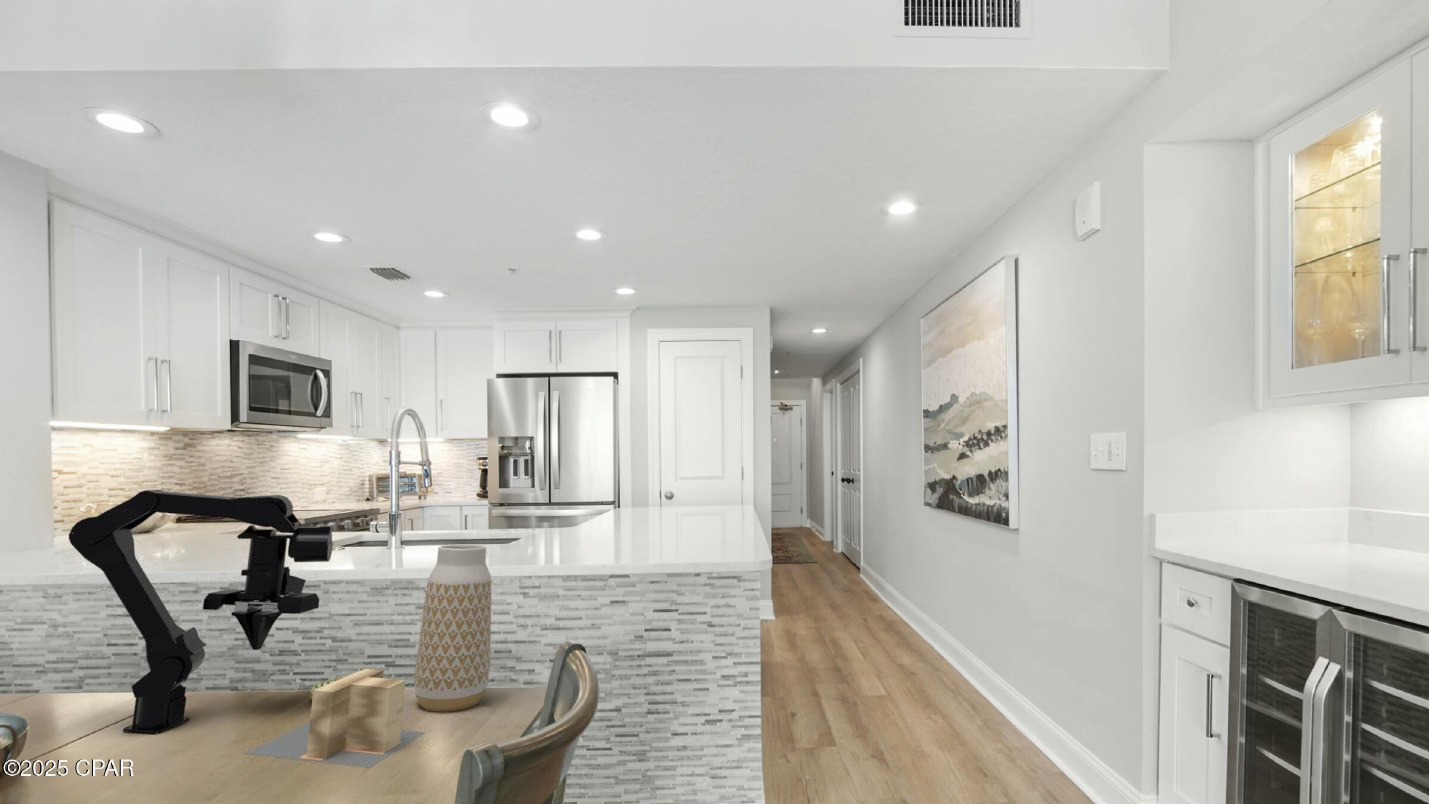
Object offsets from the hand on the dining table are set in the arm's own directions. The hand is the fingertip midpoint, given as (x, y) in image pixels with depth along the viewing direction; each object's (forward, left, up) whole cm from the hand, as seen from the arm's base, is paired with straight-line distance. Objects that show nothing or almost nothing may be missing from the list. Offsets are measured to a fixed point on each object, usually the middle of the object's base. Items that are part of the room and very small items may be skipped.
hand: (256, 649), depth 118 cm
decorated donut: (+10, +11, -12) cm, 19 cm away
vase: (+32, +12, -12) cm, 36 cm away
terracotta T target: (+27, -9, -12) cm, 31 cm away
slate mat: (+23, -9, -12) cm, 28 cm away
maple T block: (+28, -10, -11) cm, 32 cm away
